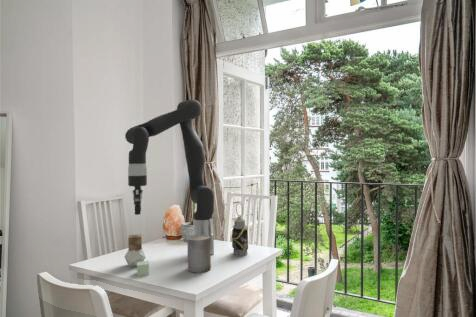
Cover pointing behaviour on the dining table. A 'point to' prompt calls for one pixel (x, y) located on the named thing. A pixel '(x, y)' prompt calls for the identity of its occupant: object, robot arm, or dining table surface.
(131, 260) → the die
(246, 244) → the lantern
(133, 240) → the walnut block
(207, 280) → the dining table surface
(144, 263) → the green block
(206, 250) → the grey upright cylinder
